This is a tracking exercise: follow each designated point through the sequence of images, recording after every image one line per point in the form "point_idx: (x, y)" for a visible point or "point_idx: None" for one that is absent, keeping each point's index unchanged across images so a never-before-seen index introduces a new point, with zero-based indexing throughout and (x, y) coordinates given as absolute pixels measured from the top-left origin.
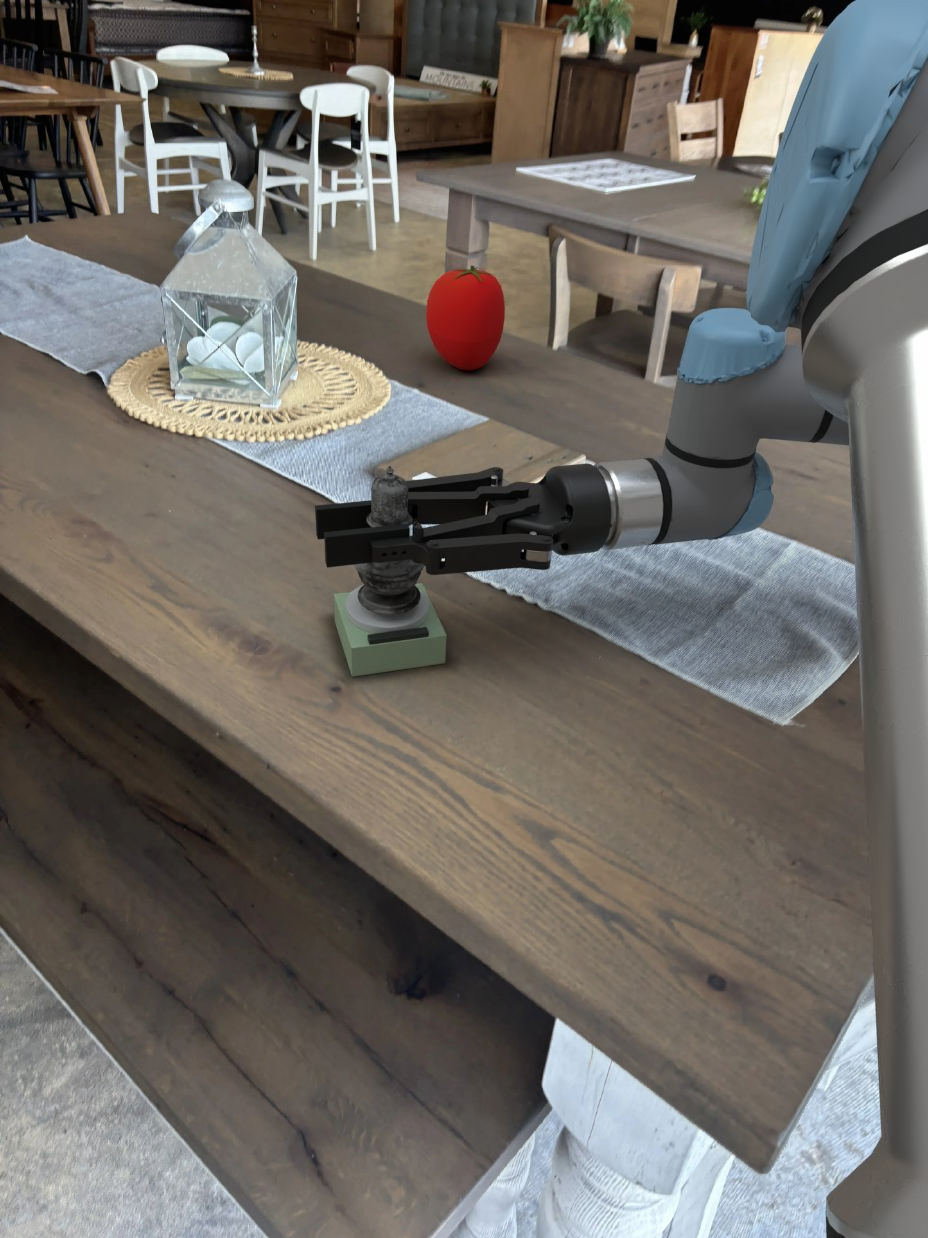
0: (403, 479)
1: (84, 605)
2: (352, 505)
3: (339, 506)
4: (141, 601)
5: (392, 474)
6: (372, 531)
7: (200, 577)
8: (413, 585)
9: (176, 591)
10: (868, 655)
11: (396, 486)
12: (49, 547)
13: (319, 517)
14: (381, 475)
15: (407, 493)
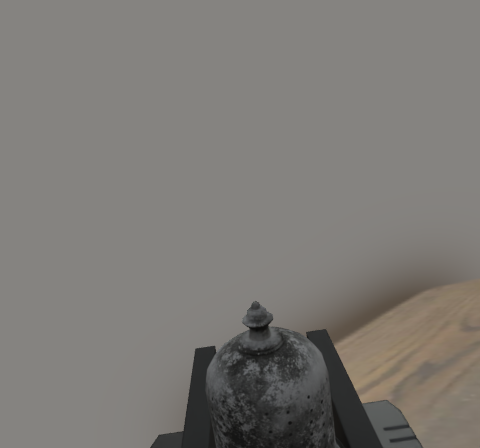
0: (273, 385)
1: (378, 330)
2: (330, 379)
3: (324, 360)
4: (395, 360)
5: (253, 334)
6: (190, 416)
7: (469, 399)
8: None
9: (425, 382)
10: None
11: (218, 366)
12: (470, 297)
13: None
14: (292, 332)
15: (239, 430)
